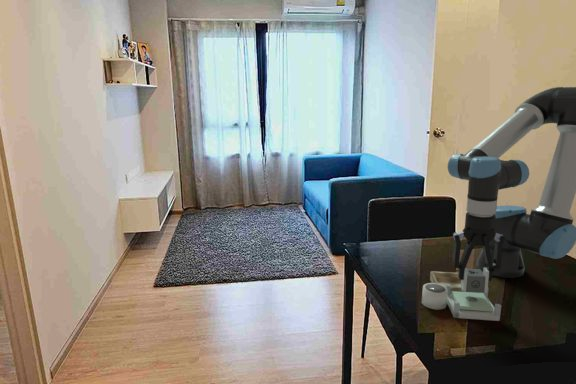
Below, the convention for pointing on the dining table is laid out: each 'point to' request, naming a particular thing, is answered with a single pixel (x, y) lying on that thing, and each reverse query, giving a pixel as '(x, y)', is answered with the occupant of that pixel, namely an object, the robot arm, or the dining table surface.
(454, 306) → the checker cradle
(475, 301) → the plate
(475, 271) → the dice cube
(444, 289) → the cup
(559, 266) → the dining table surface
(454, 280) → the trough
